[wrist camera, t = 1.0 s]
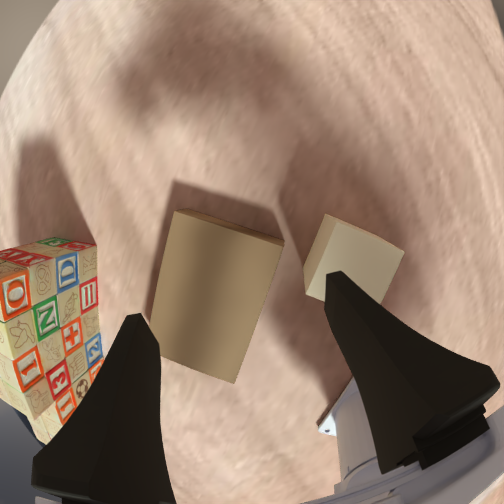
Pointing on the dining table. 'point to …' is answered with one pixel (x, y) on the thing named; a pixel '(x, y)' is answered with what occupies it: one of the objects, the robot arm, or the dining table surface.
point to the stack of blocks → (48, 330)
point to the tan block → (211, 292)
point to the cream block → (350, 259)
